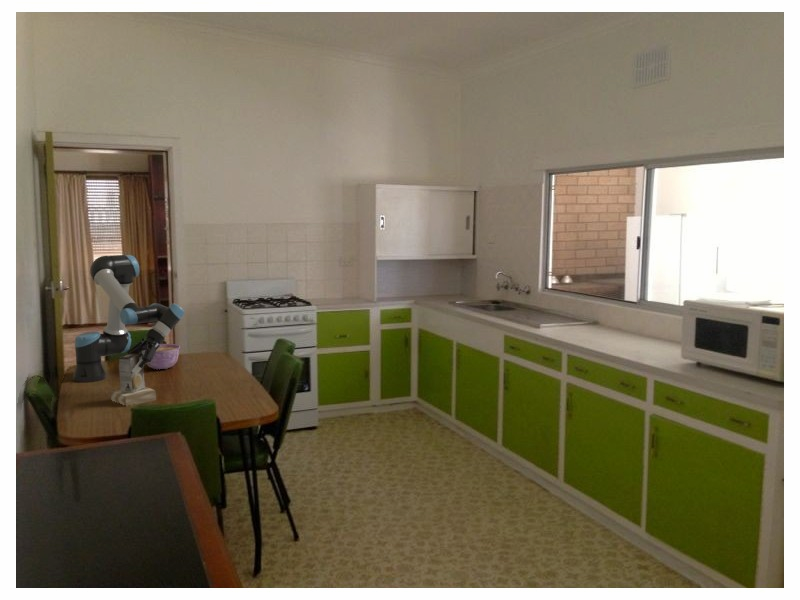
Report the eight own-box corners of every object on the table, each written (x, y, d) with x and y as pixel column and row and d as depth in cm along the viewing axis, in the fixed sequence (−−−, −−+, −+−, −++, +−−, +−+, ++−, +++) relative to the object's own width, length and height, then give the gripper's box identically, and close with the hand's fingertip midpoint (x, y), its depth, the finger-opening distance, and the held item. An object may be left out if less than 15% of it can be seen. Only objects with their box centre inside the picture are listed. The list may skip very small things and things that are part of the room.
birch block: (111, 401, 303) (110, 390, 302) (140, 395, 313) (140, 385, 312) (126, 407, 294) (125, 396, 293) (156, 401, 304) (155, 390, 303)
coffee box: (133, 386, 308) (131, 352, 306) (145, 387, 307) (143, 353, 304) (120, 392, 299) (117, 357, 297) (132, 393, 298) (130, 358, 295)
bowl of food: (188, 367, 369) (188, 346, 367) (158, 374, 352) (157, 352, 350) (164, 362, 379) (164, 342, 378) (134, 369, 363) (133, 348, 361)
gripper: (176, 341, 302) (145, 380, 293) (151, 334, 319) (121, 370, 311) (165, 331, 298) (133, 370, 289) (140, 324, 315) (109, 360, 306)
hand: (127, 370), depth 300 cm, fingers open, 13 cm apart
